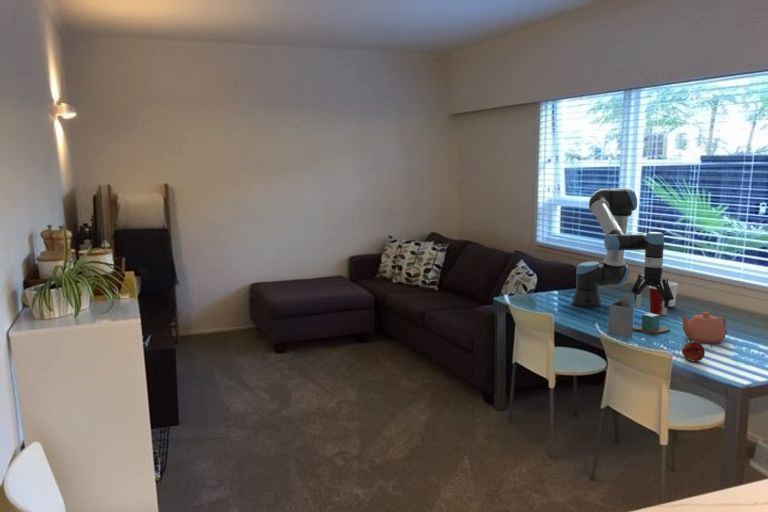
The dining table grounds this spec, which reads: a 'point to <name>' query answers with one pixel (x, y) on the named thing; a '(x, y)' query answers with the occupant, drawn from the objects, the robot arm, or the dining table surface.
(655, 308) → the coffee cup
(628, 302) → the planter
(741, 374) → the dining table surface
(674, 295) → the cup
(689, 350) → the fruit
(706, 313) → the teapot
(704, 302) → the dining table surface
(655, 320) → the cap
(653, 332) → the post block
